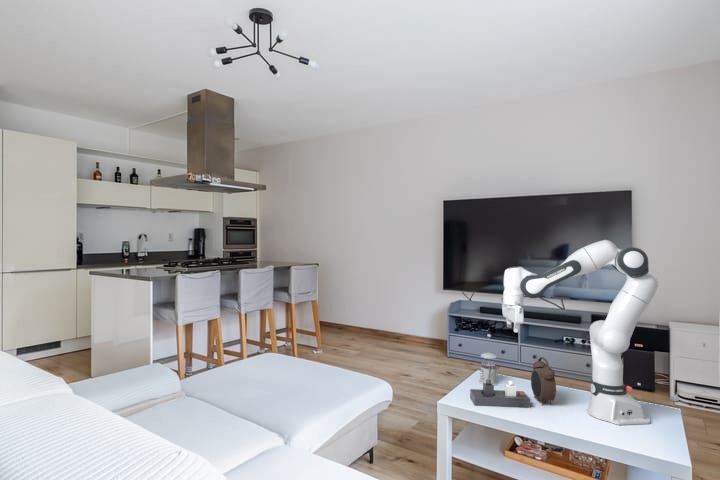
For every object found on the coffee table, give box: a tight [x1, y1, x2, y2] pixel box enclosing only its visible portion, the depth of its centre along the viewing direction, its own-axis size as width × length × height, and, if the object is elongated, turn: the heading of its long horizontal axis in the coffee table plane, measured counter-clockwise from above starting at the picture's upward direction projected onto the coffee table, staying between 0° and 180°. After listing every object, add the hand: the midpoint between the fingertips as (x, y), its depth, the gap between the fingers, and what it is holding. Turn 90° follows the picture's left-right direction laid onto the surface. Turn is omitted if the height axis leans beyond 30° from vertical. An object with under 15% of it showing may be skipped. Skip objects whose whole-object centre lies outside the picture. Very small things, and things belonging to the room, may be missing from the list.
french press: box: [478, 333, 499, 387], centre depth 209 cm, size 10×12×25 cm
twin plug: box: [482, 379, 495, 395], centre depth 184 cm, size 4×3×10 cm
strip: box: [469, 388, 531, 409], centre depth 184 cm, size 24×9×5 cm, turn 87°
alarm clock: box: [530, 356, 557, 407], centre depth 186 cm, size 14×7×20 cm, turn 178°
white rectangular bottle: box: [504, 379, 517, 396], centre depth 184 cm, size 4×3×10 cm
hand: (512, 329), depth 193 cm, fingers open, 8 cm apart
